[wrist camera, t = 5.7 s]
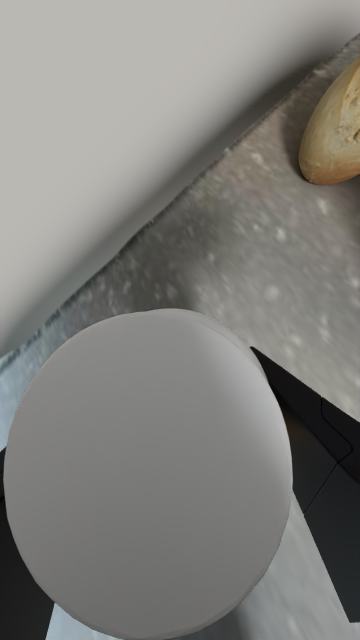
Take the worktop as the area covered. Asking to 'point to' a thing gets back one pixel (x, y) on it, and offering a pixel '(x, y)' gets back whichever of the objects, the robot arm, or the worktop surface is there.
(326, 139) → the bread roll
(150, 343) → the supplement bottle
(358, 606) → the robot arm
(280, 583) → the worktop surface
